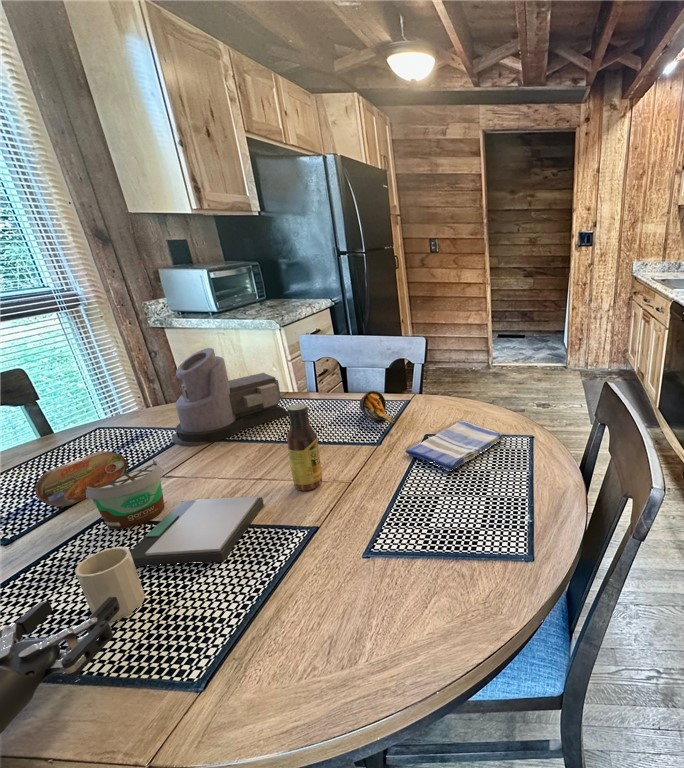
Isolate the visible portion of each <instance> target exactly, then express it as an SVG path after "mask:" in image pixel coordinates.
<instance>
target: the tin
mask: <svg viewBox="0 0 684 768" xmlns="http://www.w3.org/2000/svg"><path fill="white" fill-rule="evenodd" d="M127 471H128V462H127V460H126V458H125V457H124V456H123V455H122V454H120V453H117V452H113V451H96V452H93V453H91V454H88V455H86V456H83V457H80V458H78V459H75V460H72V461H70V462H66V463H65V464H62V465H59V466H57V467H54V468H51V469H49V470H47V471H46V472H45V473H43V474H42V475H41V476H40V477H39V478H38V480H37V481H36V484H35V487H34V492H35V496H36V497H37V499H38V500H39V501H40V502H41V503H44V504H46V505H48V506H51V507H56V508H65V507H68V506H72V505H74V504H77V503H79V502H81V501H83V500H86V499H87V498H86V490H87V487H90V488H97V487H100V486H102V485H104V484H106V483H108V482H110V481H112V480H114V479H116V478H118V477H119V476H121V475H124V474H126V473H128V472H127Z"/></svg>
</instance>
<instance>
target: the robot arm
mask: <svg viewBox="0 0 684 768" xmlns="http://www.w3.org/2000/svg"><path fill="white" fill-rule="evenodd" d="M119 609H120V607H119V603H118V600H117V598H116V597H109V598H108V599H107V600H106V601H105V602H104V603H103V604H102V605H101V606H100V607H99V608H98V609H97V610H96V611H95V612H94V613H93V614H92V613H91V615H90V616H89V617H88V619H87V620H86V621H84V622H82V623H80V624H78V625H77V626H75V627H72V628H70V627H68V628H65V629H63V630H61V631H59V632H57V633H56V634H53V635H52V636H51V635H50V636H42V637H40V638H39V637H38V638H35V637H25V638H24V637H23V636H29V635H30V634H31V633H32V632H34V630H35V629H37V628H38V627H39V626H40V625H41V624H42V623H43V622H44V621H45V620H46V619H47V618H48V617H49V616H50V615H51V614H52V613H53V606H52V605H51V602H50V601H49V600H46V601H45V600H43V601H39V602H38V603H37V604H36V605H34V606H33V607H32V608H29V610H28V611H26V612H25V613H24V614H23V615H22V616H21V617H19V619H17V620H16V621H15V622H14V623H10V624H8V625H6V626H4V627H3V628H2V629H0V735H1V734H2V733H3V732H4V731H5V730H6V729H7V728H8V727H9V725H10V724H11V723H12V722H13V721H14V720H15V719H16V718H17V717H18V715H19V714H21V712H22V711H23V710H24V709H25V708H26V706H27V705H28V704H30V702H31V701H32V699H33V697H34V695H35V692H36V691H37V689H38V687H39V685H40V684H41V683H43V682H44V681H45V680H47V679H48V678H50V677H51V676H52V675H53V674H66V677H67V679H72V678H74V677H77V676H78V675H79V674H80V673H81V672H82V671H83V670H84V669H85V668H86V667H87V666H88V665H89V664H90V663H91V662H92V660H94V658H95V657H96V656H98V654H99V653H100V652H101V651H102V650H103V649H104V647H106V645H107V644H108V643H109V642H110V641H111V640H112V639H113V638H114V633H113V630H112V628H111V626H110V622H109V621H110V620H111V619H112V618H113V617H114V616H115V614H117V612H118V611H119ZM86 631H87V633H86V634H84V635H83V636H81V637H79V638H77V637H78V636H79V635H80V634H83V633H84V632H86ZM63 641H65V642H66V643H67V647H66V648H65V649H64V650H62V651H61V646H60V643H61V642H63Z"/></svg>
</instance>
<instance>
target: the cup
mask: <svg viewBox="0 0 684 768" xmlns="http://www.w3.org/2000/svg"><path fill="white" fill-rule="evenodd" d="M130 551H131V550H130V548H127V547H125V546H115V547H110V548H106V549H103V550H100V551H98V552H95V553H93V554H91V555H90V556H88V557H86V558H84V559H83V560H82V561H81V562H80V563H79V564H78V565H77V566H76V567H75V569H74V573H75V575H76V578H77V581H78V583H79V586H80V588H81V591H82V592H83V596H84V598H85V600H86V603H87V606H88V608H89V609H90V613H91V615H92V614H93V613H94V612H95V611H96V610H97V609H98V608H99V607H100V606H101V605H102V604H103V603H104V602H105V601H106V600H107V599H108V598H109V597H116V598H117V600H118V603H119V607H120V609H119V611H118V612H117V614H115V616H114V617H113V618H112V619H111V620H110V621H109V623H112V622H117V621H119V620H121V619H123V618H125V617H128V616H129V615H131V614H132V613H134V612H135V611H136V610H137V609H138V608H140V607H141V605H142V604H143V603H144V601H145V598H146V595H145V591H144V588H143V585H142V582H141V579H140V576H139V573H138V570H137V567H135V564H134V562H133V559H132V556H131V553H130ZM136 608H137V609H136ZM135 609H136V610H135ZM134 610H135V611H134ZM133 611H134V612H133Z"/></svg>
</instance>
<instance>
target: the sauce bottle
mask: <svg viewBox="0 0 684 768" xmlns="http://www.w3.org/2000/svg"><path fill="white" fill-rule="evenodd" d="M286 411H288V414H289V415H288V417H289V426H290V428H289V430H288V431H287V434H286V442H287V452H288V457H289V464H290V471H291V477H292V482H293V485H294V488H295V489H296V490H298V491H301V492H303V491H305V492H306V491H312V490H314V489H316V488H318V487H319V486H321V484H322V483H323V472H322V471H323V470H322V462H321V456H320V448H319V441H318V435H317V434H316V431H315V430H314V429H313V427H312V426H311V424H310V421H309V408H308V405H307V404H305V403H297V404H293V405H292V404H291V405H290V406H288V407H287V410H286Z"/></svg>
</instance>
